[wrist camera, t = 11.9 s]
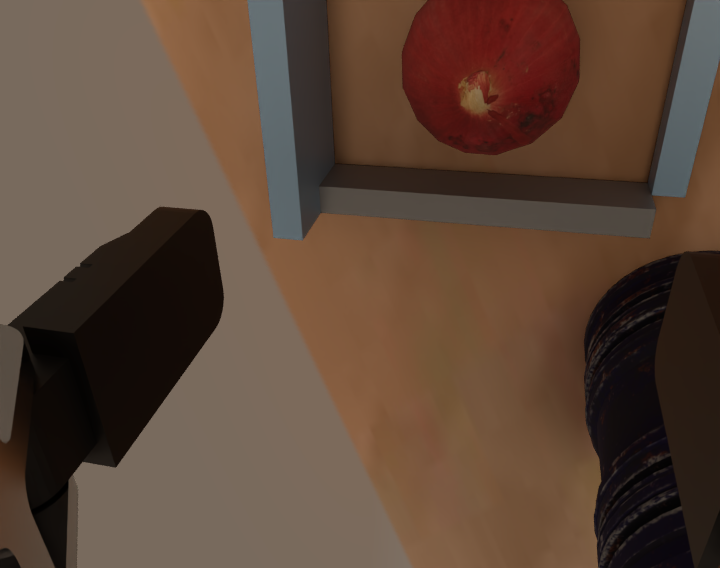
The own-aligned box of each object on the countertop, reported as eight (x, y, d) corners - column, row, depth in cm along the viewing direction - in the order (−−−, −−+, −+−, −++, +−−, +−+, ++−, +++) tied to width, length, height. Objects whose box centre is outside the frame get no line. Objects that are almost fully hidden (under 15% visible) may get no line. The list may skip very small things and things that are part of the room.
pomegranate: (610, 37, 24) (635, 103, 18) (493, 144, 27) (477, 234, 21) (498, -83, 23) (481, -60, 16) (389, 43, 26) (338, 104, 20)
